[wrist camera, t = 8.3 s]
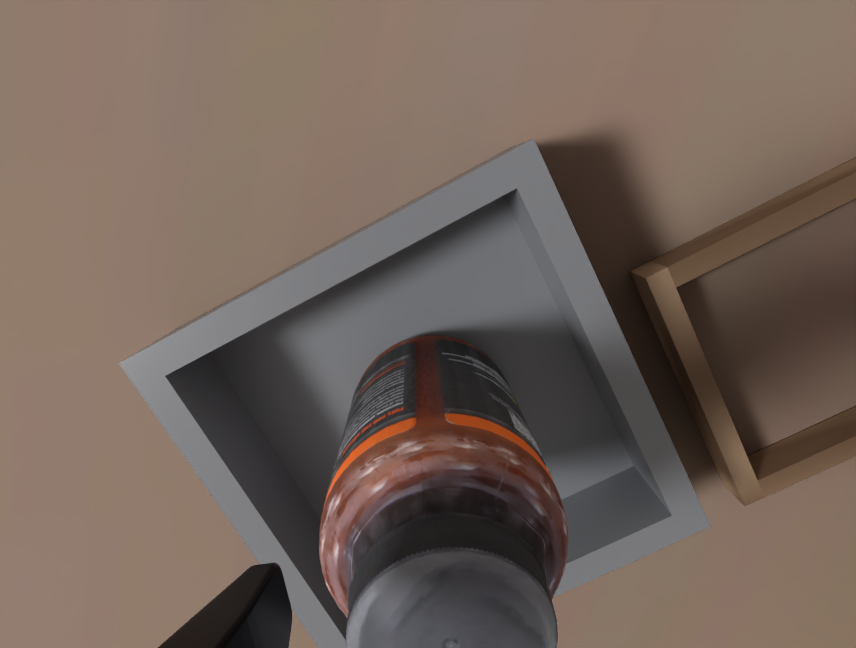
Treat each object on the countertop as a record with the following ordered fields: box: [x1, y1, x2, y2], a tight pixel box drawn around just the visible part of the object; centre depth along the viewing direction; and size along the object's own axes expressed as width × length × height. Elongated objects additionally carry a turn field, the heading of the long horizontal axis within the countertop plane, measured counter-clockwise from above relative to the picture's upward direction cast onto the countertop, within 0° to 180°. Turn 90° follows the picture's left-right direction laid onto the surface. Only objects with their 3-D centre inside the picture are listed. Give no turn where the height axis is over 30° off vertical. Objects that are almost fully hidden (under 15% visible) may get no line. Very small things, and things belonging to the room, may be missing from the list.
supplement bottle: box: [319, 335, 568, 648], centre depth 16 cm, size 6×6×11 cm
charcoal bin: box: [119, 139, 711, 648], centre depth 20 cm, size 14×14×4 cm
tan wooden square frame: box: [630, 157, 856, 506], centre depth 21 cm, size 10×10×2 cm
